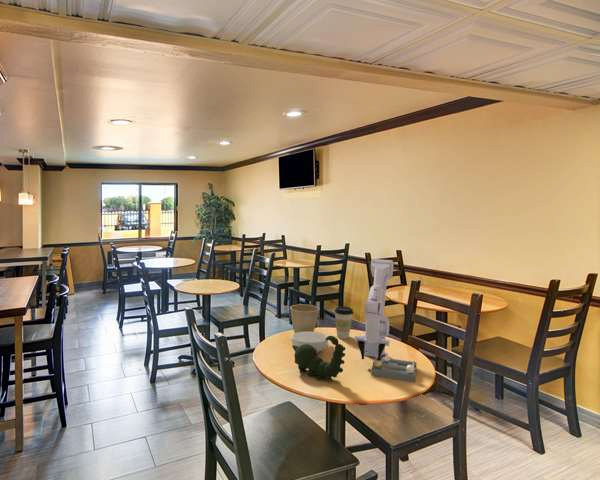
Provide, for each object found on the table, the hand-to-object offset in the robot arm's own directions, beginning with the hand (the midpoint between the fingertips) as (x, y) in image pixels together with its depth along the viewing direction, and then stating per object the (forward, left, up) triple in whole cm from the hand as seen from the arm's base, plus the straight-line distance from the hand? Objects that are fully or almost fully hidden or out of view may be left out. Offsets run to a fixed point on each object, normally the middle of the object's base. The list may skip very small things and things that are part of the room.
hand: (370, 359), depth 167 cm
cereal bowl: (-30, +8, -3) cm, 31 cm away
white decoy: (+16, -6, +1) cm, 17 cm away
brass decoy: (+4, -6, +1) cm, 7 cm away
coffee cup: (-20, +35, -3) cm, 40 cm away
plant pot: (-38, +24, -3) cm, 45 cm away
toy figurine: (-19, -17, -3) cm, 26 cm away
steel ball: (+6, 0, +1) cm, 6 cm away
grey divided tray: (+10, -1, -3) cm, 10 cm away
